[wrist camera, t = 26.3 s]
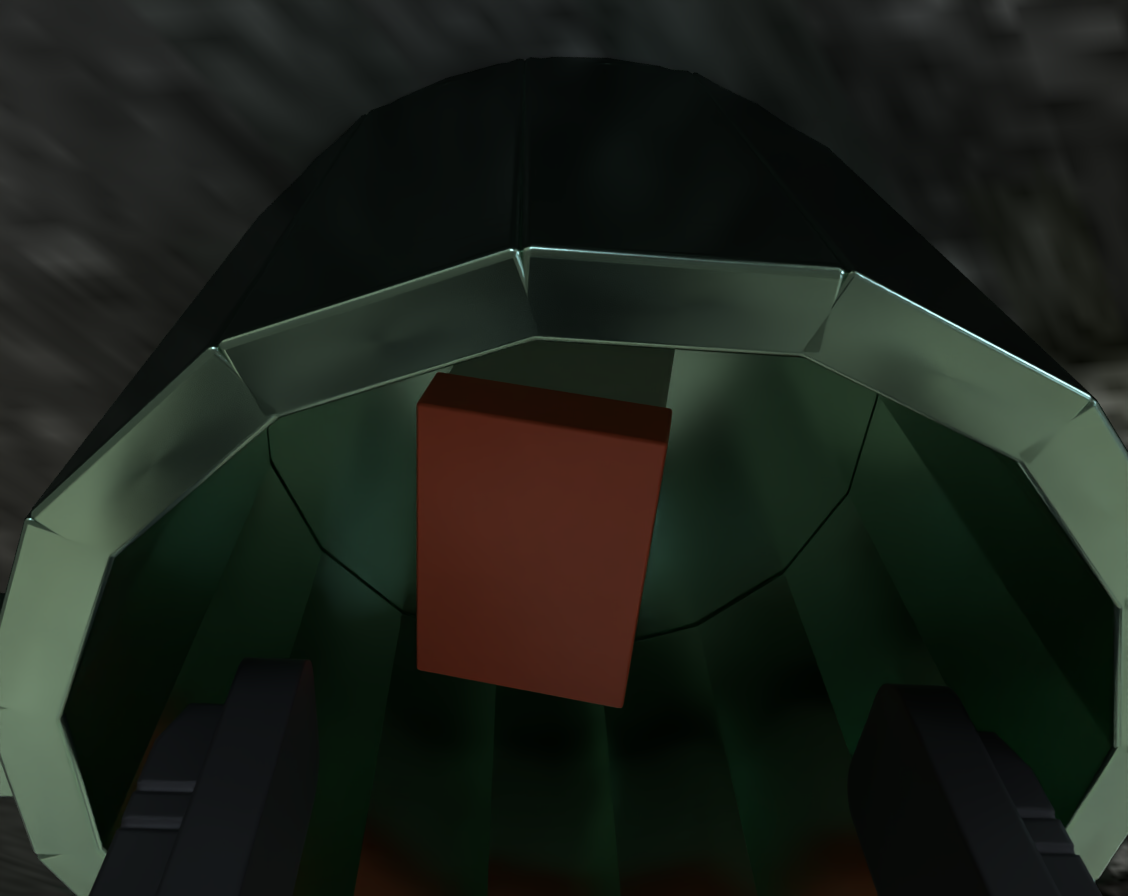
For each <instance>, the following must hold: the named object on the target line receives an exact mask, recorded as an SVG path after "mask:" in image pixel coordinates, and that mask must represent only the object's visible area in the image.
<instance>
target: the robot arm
mask: <svg viewBox="0 0 1128 896" xmlns="http://www.w3.org/2000/svg"><path fill="white" fill-rule="evenodd" d="M318 771H319V735H318V723H317V711H316V699H315V687H314V675H313V666H312V663H311V661H310V660H309V659H283V658H256V657H245V658H243V660H242V661H241V662H240V664H239V666H238V669H237V671H236V674H235V677H234V679H233V682H232V685H231V688H230V690H229V693H228V696H227V699H226V701H225V704H212V703H190V704H189V705H188V706H187V707H186V708H185V709H184V710H183V711H182V712H181V713H180V714H179V715H178V716H177V717H176V718H175V719H174V721H173V722H172V723H171V724H170V725H169V726H168V727H167V728H166V729H165V730H164V731H163V732H162V733H161V734H160V735H159V736H158V737H157V738H156V739H155V742H154V744H153V746H152V749H151V751H150V753H149V756H148V758H147V760H146V763H145V765H144V767H143V770H142V772H141V774H140V777H139V779H138V781H137V788H136V791H135V792H133V793H132V795H131V798H130V800H129V802H128V805H127V807H126V809H125V812H124V814H123V816H122V819H121V820H122V822H121V826H120V828H117V830H116V833H115V835H114V837H113V840H112V842H111V844H110V847H109V849H108V851H107V854H106V856H105V858H104V861H103V863H102V865H101V868H100V870H99V872H98V875H97V877H96V879H95V882H94V884H93V886H92V889H91V891H90V893H89V896H292V895H293V891H294V887H295V882H296V878H297V874H298V869H299V865H300V860H301V856H302V852H303V847H304V843H305V839H306V834H307V830H308V826H309V821H310V817H311V813H312V808H313V804H314V799H315V794H316V788H317V780H318ZM847 793H848V803H849V809H850V813H851V817H852V820H853V823H854V826H855V829H856V832H857V835H858V838H859V841H860V844H861V847H862V850H863V853H864V856H865V859H866V862H867V865H868V868H869V871H870V874H871V877H872V880H873V883H874V886H875V889H876V892H877V894H878V896H1102V894H1101V893H1100V891H1099V889H1098V887H1097V885H1096V884H1095V882H1094V880H1093V878H1092V876H1091V875H1090V873H1089V871H1088V869H1087V867H1086V866H1085V864H1084V862H1083V860H1082V858H1081V857H1080V855H1076V854H1075V852H1074V844H1073V842H1072V840H1071V839H1070V837H1069V835H1068V833H1067V831H1066V830H1065V828H1064V826H1063V824H1062V822H1061V821H1060V819H1056V818H1055V810H1054V808H1053V806H1052V804H1051V803H1050V801H1049V799H1048V797H1047V795H1046V794H1045V792H1044V790H1043V788H1042V786H1041V785H1040V783H1039V781H1038V779H1037V777H1036V776H1035V774H1034V772H1033V770H1032V769H1031V768H1030V767H1029V766H1028V765H1027V764H1026V763H1025V762H1024V761H1023V760H1022V759H1021V758H1020V757H1019V756H1018V755H1017V754H1016V753H1015V752H1014V751H1013V750H1012V749H1011V748H1010V747H1009V746H1008V745H1007V744H1006V743H1005V742H1004V741H1003V740H1002V739H1001V738H1000V737H999V736H998V735H997V734H996V733H995V732H977V731H976V729H975V727H974V725H973V723H972V721H971V719H970V717H969V716H968V714H967V712H966V710H965V708H964V706H963V704H962V702H961V700H960V698H959V697H958V695H957V694H956V692H955V691H954V690H953V689H952V688H950V687H948V686H943V685H917V684H890V683H886V684H883V685H882V686H881V687H880V688H879V690H878V692H877V694H876V696H875V699H874V702H873V704H872V707H871V710H870V712H869V715H868V718H867V720H866V723H865V725H864V728H863V731H862V733H861V736H860V739H859V741H858V744H857V747H856V749H855V752H854V755H853V757H852V760H851V763H850V766H849V771H848V779H847Z"/></svg>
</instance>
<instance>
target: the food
mask: <svg viewBox="0 0 1128 896" xmlns="http://www.w3.org/2000/svg"><path fill="white" fill-rule="evenodd" d="M674 353H675V350H673V349H657V348H642V347H626V346H610V345H594V344H579V343H563V342H547V341H531V342H528V343H525V344H521V345H518V346H515V347H512V348H508V349H505V350H502V351H498V352H495V353H492V354H488V355H485V356H482V357H479V358H475V359H472V360H469V361H465V362H462V363H459V364H456V365H454V366H453V368H452V369H451V371H450V372H449V373H443V372H438V373H436V375H435V376H434V378H433V379H432V381H431V382H430V384H429V385H428V387H427V389H426V390H425V392H424V393H423V395H422V396H421V398H420V399H419V401H418V403H417V405H416V444H417V669H418V670H421V671H427V672H432V673H437V674H442V675H448V676H453V677H458V678H463V679H469V680H474V681H479V682H484V683H489V684H495V685H500V686H505V687H510V688H516V689H521V690H526V691H531V692H537V693H542V694H547V695H552V696H558V697H563V698H568V699H573V700H579V701H584V702H589V703H594V704H599V705H605V706H610V707H615V708H622V707H623V705H624V699H625V693H626V687H627V681H628V675H629V669H630V664H631V658H632V652H633V646H634V640H635V634H636V628H637V623H638V617H639V611H640V605H641V599H642V593H643V587H644V582H645V576H646V570H647V564H648V558H649V552H650V546H651V541H652V535H653V529H654V523H655V517H656V511H657V505H658V500H659V494H660V488H661V482H662V476H663V470H664V464H665V459H666V453H667V447H668V440H669V433H670V426H671V420H672V410H671V409H670V408H666V404H667V398H668V391H669V385H670V379H671V372H672V366H673V360H674Z"/></svg>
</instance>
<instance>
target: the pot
mask: <svg viewBox="0 0 1128 896" xmlns="http://www.w3.org/2000/svg"><path fill="white" fill-rule="evenodd" d="M531 341H547V342H563V343H579V344H594V345H610V346H626V347H642V348H657V349H673V350H675V353H674V360H673V366H672V372H671V379H670V385H669V391H668V398H667V404H666V408H670V409H671V410H672V420H671V426H670V433H669V440H668V447H667V453H666V459H665V464H664V470H663V476H662V482H661V488H660V494H659V500H658V505H657V511H656V517H655V523H654V529H653V535H652V541H651V546H650V552H649V558H648V564H647V570H646V576H645V582H644V587H643V593H642V599H641V605H640V611H639V617H638V623H637V628H636V634H635V640H634V646H633V652H632V658H631V664H630V669H629V675H628V681H627V687H626V693H625V699H624V705H623V707H622V708H615V707H610V706H605V705H599V704H594V703H589V702H584V701H579V700H573V699H568V698H563V697H558V696H552V695H547V694H542V693H537V692H531V691H526V690H521V689H516V688H510V687H505V686H500V685H495V684H489V683H484V682H479V681H474V680H469V679H463V678H458V677H453V676H448V675H442V674H437V673H432V672H427V671H421V670H418V669H417V444H416V405H417V403H418V401H419V399H420V398H421V396H422V395H423V393H424V392H425V390H426V389H427V387H428V385H429V384H430V382H431V381H432V379H433V378H434V376H435V375H436V373H438V372H443V373H449V372H450V371H451V369H452V368H453V366H454V365H456V364H459V363H462V362H465V361H469V360H472V359H475V358H479V357H482V356H485V355H488V354H492V353H495V352H498V351H502V350H505V349H508V348H512V347H515V346H518V345H521V344H525V343H528V342H531ZM245 657H256V658H283V659H309V660H310V661H311V663H312V666H313V675H314V687H315V699H316V711H317V723H318V735H319V771H318V780H317V788H316V794H315V799H314V804H313V808H312V813H311V817H310V821H309V826H308V830H307V834H306V839H305V843H304V847H303V852H302V856H301V860H300V865H299V869H298V874H297V878H296V882H295V887H294V891H293V895H292V896H878V894H877V892H876V889H875V886H874V883H873V880H872V877H871V874H870V871H869V868H868V865H867V862H866V859H865V856H864V853H863V850H862V847H861V844H860V841H859V838H858V835H857V832H856V829H855V826H854V823H853V820H852V817H851V813H850V809H849V803H848V793H847V779H848V771H849V766H850V763H851V760H852V757H853V755H854V752H855V749H856V747H857V744H858V741H859V739H860V736H861V733H862V731H863V728H864V725H865V723H866V720H867V718H868V715H869V712H870V710H871V707H872V704H873V702H874V699H875V696H876V694H877V692H878V690H879V688H880V687H881V686H882V685H883V684H886V683H890V684H917V685H943V686H948V687H950V688H952V689H953V690H954V691H955V692H956V694H957V695H958V697H959V698H960V700H961V702H962V704H963V706H964V708H965V710H966V712H967V714H968V716H969V717H970V719H971V721H972V723H973V725H974V727H975V729H976V731H977V732H995V733H996V734H997V735H998V736H999V737H1000V738H1001V739H1002V740H1003V741H1004V742H1005V743H1006V744H1007V745H1008V746H1009V747H1010V748H1011V749H1012V750H1013V751H1014V752H1015V753H1016V754H1017V755H1018V756H1019V757H1020V758H1021V759H1022V760H1023V761H1024V762H1025V763H1026V764H1027V765H1028V766H1029V767H1030V768H1031V769H1032V770H1033V772H1034V774H1035V776H1036V777H1037V779H1038V781H1039V783H1040V785H1041V786H1042V788H1043V790H1044V792H1045V794H1046V795H1047V797H1048V799H1049V801H1050V803H1051V804H1052V806H1053V808H1054V810H1055V818H1056V819H1060V821H1061V822H1062V824H1063V826H1064V828H1065V830H1066V831H1067V833H1068V835H1069V837H1070V839H1071V840H1072V842H1073V844H1074V852H1075V854H1076V855H1080V857H1081V858H1082V860H1083V862H1084V864H1085V866H1086V867H1087V869H1088V871H1089V873H1090V875H1091V876H1092V878H1093V880H1094V882H1095V881H1096V879H1098V878H1100V876H1101V875H1102V873H1103V872H1104V870H1105V869H1106V867H1107V865H1108V864H1109V862H1110V861H1111V859H1112V858H1113V856H1114V855H1115V853H1116V852H1117V850H1118V849H1119V847H1120V846H1121V844H1122V843H1123V841H1124V840H1125V838H1126V837H1127V835H1128V451H1127V449H1126V447H1125V446H1124V444H1123V442H1122V441H1121V439H1120V437H1119V436H1118V434H1117V432H1116V431H1115V429H1114V428H1113V426H1112V424H1111V423H1110V421H1109V419H1108V418H1107V416H1106V414H1105V413H1104V411H1103V409H1102V408H1101V406H1100V404H1099V403H1098V401H1097V400H1096V399H1095V398H1094V397H1093V396H1092V395H1091V394H1090V393H1089V392H1088V391H1087V390H1086V389H1085V388H1084V387H1083V386H1082V385H1081V384H1080V383H1078V382H1077V381H1076V380H1075V379H1074V378H1073V377H1072V376H1071V375H1070V374H1069V373H1068V372H1067V371H1066V370H1065V369H1064V368H1062V367H1061V366H1060V365H1059V364H1058V363H1057V362H1056V361H1055V360H1054V359H1053V358H1052V357H1051V356H1050V355H1049V354H1048V353H1046V352H1045V351H1044V350H1043V349H1042V348H1041V347H1040V346H1039V345H1038V344H1037V343H1036V342H1035V341H1034V340H1033V339H1032V338H1030V337H1029V336H1028V335H1027V334H1026V333H1025V332H1024V331H1023V330H1022V329H1021V328H1020V327H1019V326H1018V325H1017V324H1016V323H1015V322H1013V321H1012V320H1011V319H1010V318H1009V317H1008V316H1007V315H1006V314H1005V313H1004V312H1003V311H1002V310H1001V309H1000V308H999V307H997V306H996V305H995V304H994V303H993V302H992V301H991V300H990V299H989V298H988V297H987V296H986V295H985V294H984V293H983V292H981V291H980V290H979V289H978V288H977V287H976V286H975V285H974V284H973V283H972V282H971V281H970V280H969V279H968V278H967V277H965V276H964V275H963V274H962V273H961V272H960V271H959V270H958V269H957V268H956V267H955V266H954V265H953V264H952V263H951V262H950V261H948V260H947V259H946V258H945V257H944V256H943V255H942V254H941V253H940V252H939V251H938V250H937V249H936V248H935V247H934V246H932V245H931V244H930V243H929V242H928V241H927V240H926V239H925V238H924V237H923V236H922V235H921V234H920V233H919V232H918V231H916V230H915V229H914V228H913V227H912V226H911V225H910V224H909V223H908V222H907V221H906V220H905V219H904V218H903V217H902V216H900V215H899V214H898V213H897V212H896V211H895V210H894V209H893V208H892V207H891V206H890V205H889V204H888V203H887V202H886V201H884V200H883V199H882V198H881V197H880V196H879V195H878V194H877V193H876V192H875V191H874V190H873V189H872V188H871V187H870V186H869V185H867V184H866V183H865V182H864V181H863V180H862V179H861V178H860V177H859V176H858V175H857V174H856V173H855V172H854V171H853V170H851V169H850V168H849V167H848V166H847V165H846V164H845V163H844V162H843V161H842V160H841V159H840V158H839V157H838V156H837V155H835V154H834V153H833V152H832V151H831V150H830V149H829V148H828V147H826V146H825V145H823V144H821V143H819V142H818V141H816V140H814V139H812V138H811V137H809V136H807V135H805V134H804V133H802V132H800V131H798V130H797V129H795V128H793V127H791V126H789V125H788V124H786V123H785V122H783V121H782V120H780V119H779V118H777V117H776V116H774V115H773V114H771V113H770V112H768V111H767V110H765V109H764V108H762V107H761V106H759V105H758V104H756V103H754V102H752V101H750V100H748V99H746V98H744V97H742V96H740V95H737V94H735V93H733V92H731V91H729V90H727V89H725V88H723V87H721V86H719V85H718V84H716V83H714V82H712V81H710V80H709V79H707V78H705V77H703V76H702V75H700V74H698V73H695V72H694V73H693V74H692V73H691V72H689V71H684V70H672V69H668V68H664V67H661V66H656V65H649V64H643V63H637V62H630V61H624V60H618V59H611V58H586V57H549V58H532V57H530V58H528V59H526V60H525V61H524V59H516V60H514V61H511V62H508V63H501V64H496V65H492V66H489V67H485V68H481V69H478V70H474V71H470V72H467V73H463V74H459V75H456V76H452V77H448V78H445V79H443V80H441V81H438V82H436V83H434V84H431V85H429V86H427V87H424V88H422V89H420V90H418V91H415V92H413V93H411V94H408V95H406V96H404V97H401V98H399V99H397V100H395V101H394V102H392V103H390V104H387V105H385V106H382V107H379V108H376V109H373V110H371V111H370V112H369V113H368V114H367V115H366V114H365V115H362V116H361V117H360V118H359V119H358V120H357V121H356V122H355V123H354V124H353V125H352V126H351V127H350V128H349V129H348V130H347V131H346V132H345V133H344V134H343V135H341V136H340V137H339V138H338V139H337V140H336V141H335V142H334V143H333V144H332V145H331V146H329V147H328V148H327V149H326V150H325V151H324V152H322V153H321V154H320V155H319V156H318V157H316V158H315V159H314V161H313V162H312V163H311V164H310V165H309V166H308V167H307V168H306V170H305V171H304V172H303V173H302V174H301V175H300V176H299V177H298V178H297V179H296V180H295V181H294V182H293V183H292V184H291V185H290V186H289V187H288V188H287V189H286V190H285V191H284V192H283V193H282V194H281V195H280V196H279V197H278V198H277V199H276V200H275V201H274V202H273V203H272V204H271V205H270V206H269V207H268V208H266V209H265V210H264V211H263V212H262V213H261V214H260V215H259V216H258V218H257V219H256V220H255V222H254V223H253V224H252V225H251V227H250V228H249V229H248V231H247V232H246V233H245V234H244V236H243V237H242V238H241V240H240V241H239V242H238V243H237V245H236V246H235V247H234V249H233V250H232V251H231V252H230V254H229V255H228V256H227V258H226V259H225V260H224V261H223V263H222V264H221V265H220V267H219V268H218V269H217V270H216V272H215V273H214V274H213V276H212V277H211V278H210V280H209V281H208V282H207V283H206V285H205V286H204V287H203V289H202V290H201V291H200V292H199V294H198V295H197V296H196V298H195V299H194V300H193V301H192V303H191V304H190V305H189V307H188V308H187V309H186V310H185V312H184V313H183V314H182V316H181V317H180V318H179V319H178V321H177V322H176V323H175V325H174V326H173V327H172V328H171V330H170V331H169V332H168V334H167V335H166V336H165V337H164V339H163V340H162V341H161V343H160V344H159V345H158V346H157V348H156V349H155V350H154V352H153V353H152V354H151V355H150V357H149V358H148V359H147V361H146V362H145V363H144V365H143V366H142V367H141V368H140V370H139V371H138V372H137V374H136V375H135V376H134V377H133V379H132V380H131V381H130V383H129V384H128V385H127V386H126V388H125V389H124V390H123V392H122V393H121V394H120V395H119V397H118V398H117V399H116V401H115V402H114V403H113V404H112V406H111V407H110V408H109V410H108V411H107V412H106V413H105V415H104V416H103V417H102V419H101V420H100V421H99V422H98V424H97V425H96V426H95V428H94V429H93V430H92V431H91V433H90V434H89V435H88V437H87V438H86V439H85V440H84V442H83V443H82V444H81V446H80V447H79V448H78V450H77V451H76V452H75V453H74V455H73V456H72V457H71V459H70V460H69V461H68V462H67V464H66V465H65V466H64V468H63V469H62V470H61V471H60V473H59V474H58V475H57V477H56V478H55V479H54V480H53V482H52V483H51V484H50V486H49V487H48V488H47V489H46V491H45V492H44V493H43V495H42V496H41V497H40V498H39V500H38V501H37V502H36V504H35V505H34V506H33V507H32V510H31V511H30V513H29V514H28V515H27V517H26V518H25V520H24V523H23V527H22V531H21V535H20V539H19V543H18V546H17V550H16V554H15V558H14V562H13V565H12V569H11V573H10V577H9V581H8V585H7V588H6V592H5V593H0V797H13V798H14V801H15V803H16V806H17V809H18V812H19V814H20V817H21V820H22V823H23V826H24V828H25V831H26V834H27V837H28V839H29V842H30V845H31V848H32V851H33V852H34V853H35V854H38V856H37V857H38V860H39V861H40V862H41V863H42V864H43V865H44V866H45V867H46V868H47V869H48V870H49V871H51V872H52V873H53V874H54V875H55V876H56V877H57V878H58V879H59V880H60V881H61V882H62V883H63V884H64V885H65V886H66V887H67V888H68V889H69V890H70V891H71V892H73V893H74V894H75V895H76V896H89V893H90V891H91V889H92V886H93V884H94V882H95V879H96V877H97V875H98V872H99V870H100V868H101V865H102V863H103V861H104V858H105V856H106V854H107V851H108V849H109V847H110V844H111V842H112V840H113V837H114V835H115V833H116V830H117V828H120V826H121V822H122V820H121V819H122V816H123V814H124V812H125V809H126V807H127V805H128V802H129V800H130V798H131V795H132V793H133V792H135V791H136V788H137V781H138V779H139V777H140V774H141V772H142V770H143V767H144V765H145V763H146V760H147V758H148V756H149V753H150V751H151V749H152V746H153V744H154V742H155V739H156V738H157V737H158V736H159V735H160V734H161V733H162V732H163V731H164V730H165V729H166V728H167V727H168V726H169V725H170V724H171V723H172V722H173V721H174V719H175V718H176V717H177V716H178V715H179V714H180V713H181V712H182V711H183V710H184V709H185V708H186V707H187V706H188V705H189V704H190V703H212V704H225V701H226V699H227V696H228V693H229V690H230V688H231V685H232V682H233V679H234V677H235V674H236V671H237V669H238V666H239V664H240V662H241V661H242V660H243V658H245Z"/></svg>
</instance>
